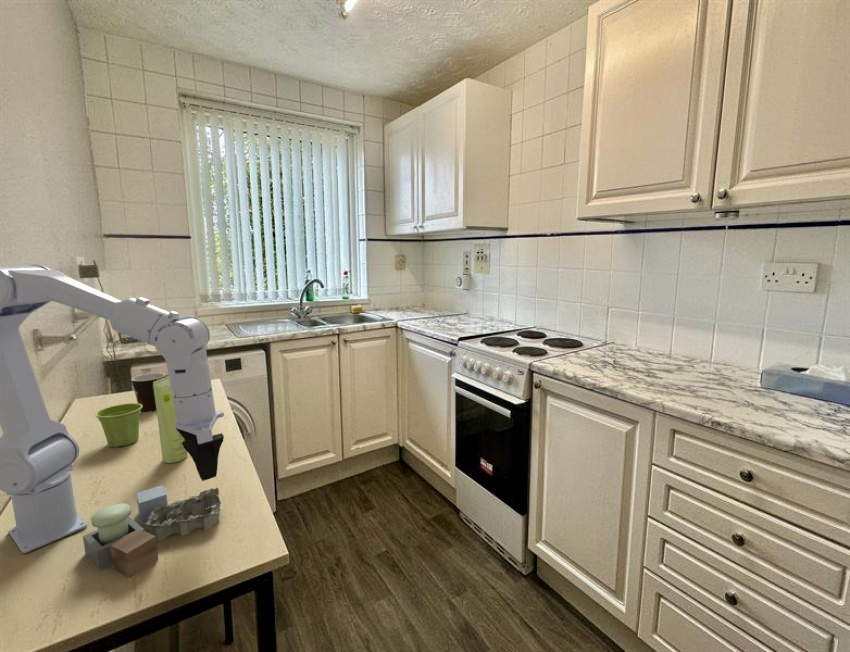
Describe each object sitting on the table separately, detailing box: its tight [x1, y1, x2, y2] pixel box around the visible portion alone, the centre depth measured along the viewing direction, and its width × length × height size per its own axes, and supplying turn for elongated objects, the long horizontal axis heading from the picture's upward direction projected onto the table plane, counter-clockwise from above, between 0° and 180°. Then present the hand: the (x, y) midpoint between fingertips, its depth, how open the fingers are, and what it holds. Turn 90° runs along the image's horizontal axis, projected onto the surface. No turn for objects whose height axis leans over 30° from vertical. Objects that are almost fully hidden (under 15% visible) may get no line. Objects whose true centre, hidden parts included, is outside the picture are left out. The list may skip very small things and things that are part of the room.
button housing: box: [82, 515, 145, 571], centre depth 63 cm, size 6×6×3 cm
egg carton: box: [145, 487, 222, 542], centre depth 70 cm, size 11×8×4 cm
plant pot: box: [94, 402, 143, 448], centre depth 101 cm, size 9×9×9 cm
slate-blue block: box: [135, 484, 169, 525], centre depth 72 cm, size 4×4×4 cm
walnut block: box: [110, 529, 159, 579], centre depth 60 cm, size 4×4×4 cm
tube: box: [153, 375, 188, 464], centre depth 91 cm, size 6×5×20 cm
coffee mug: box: [131, 372, 166, 413], centre depth 124 cm, size 12×9×10 cm
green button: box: [90, 503, 132, 546], centre depth 63 cm, size 5×5×4 cm
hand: (205, 469), depth 69 cm, fingers open, 7 cm apart
